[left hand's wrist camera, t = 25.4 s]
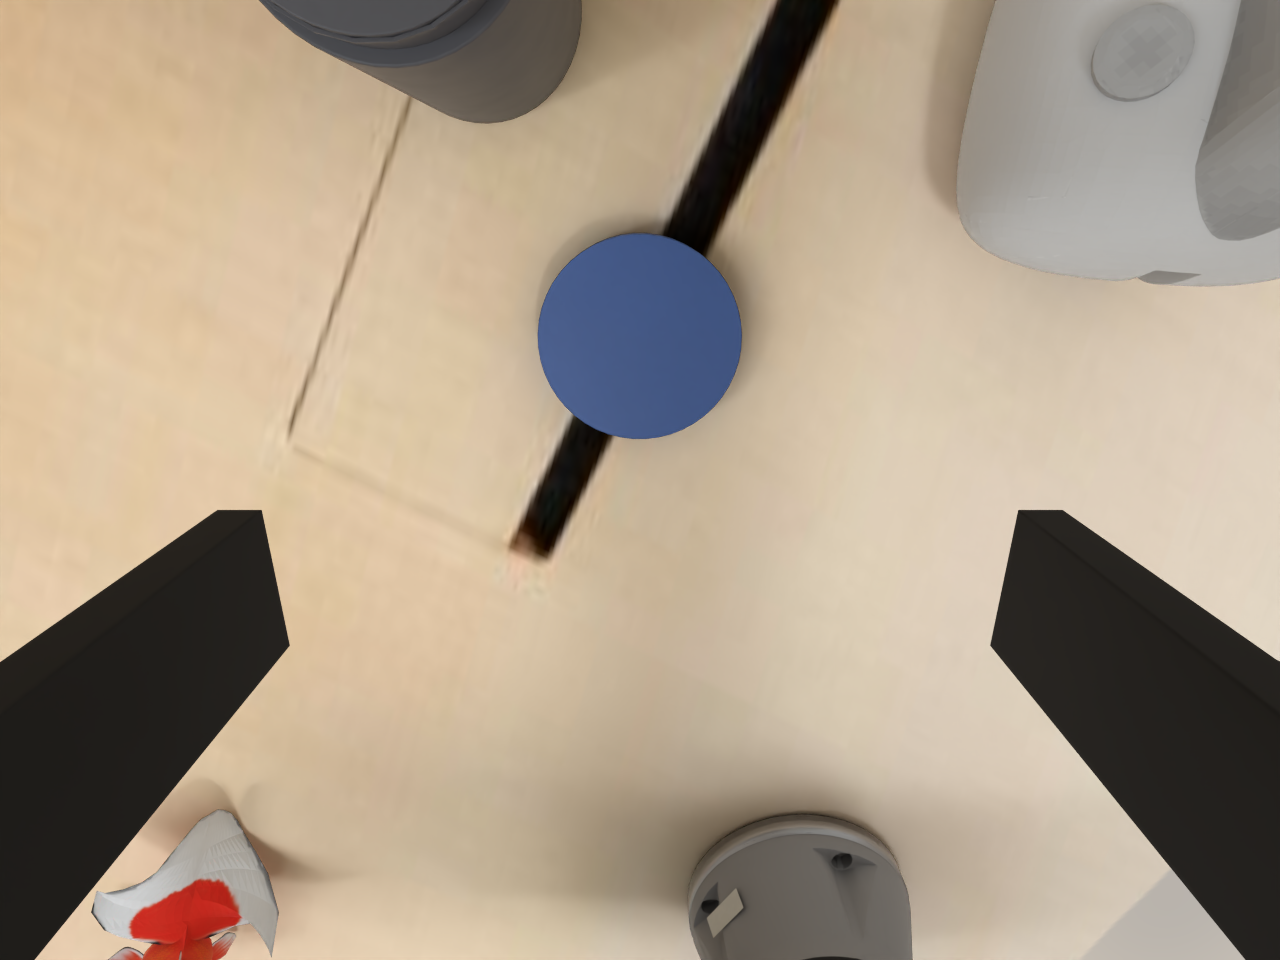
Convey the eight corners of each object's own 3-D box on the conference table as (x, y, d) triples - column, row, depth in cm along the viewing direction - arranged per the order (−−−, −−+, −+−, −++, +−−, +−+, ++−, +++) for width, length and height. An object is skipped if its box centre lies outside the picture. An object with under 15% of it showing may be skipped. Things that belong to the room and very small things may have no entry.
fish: (30, 974, 47) (-12, 1112, 38) (161, 756, 48) (148, 841, 40) (199, 988, 52) (196, 1111, 44) (311, 792, 54) (328, 874, 46)
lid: (776, 308, 36) (783, 313, 34) (664, 462, 39) (665, 474, 37) (612, 189, 34) (610, 188, 32) (506, 361, 37) (500, 368, 35)
